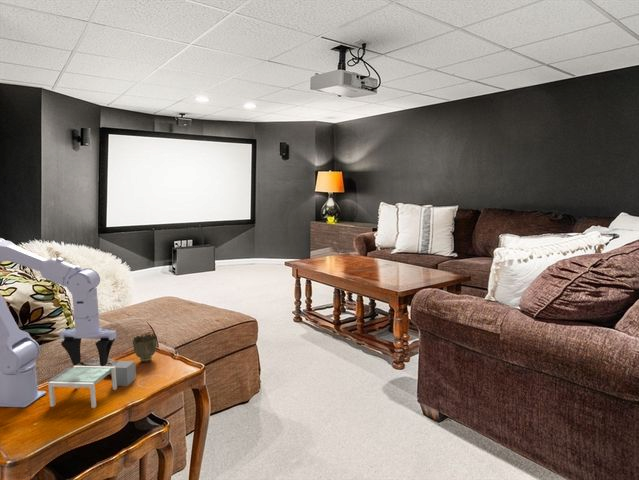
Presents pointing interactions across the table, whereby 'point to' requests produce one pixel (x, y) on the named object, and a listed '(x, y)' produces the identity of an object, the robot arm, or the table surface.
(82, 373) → the trapdoor plate
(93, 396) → the miniature coffee table
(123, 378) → the stone block
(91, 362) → the stone fragment
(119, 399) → the table surface
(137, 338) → the cup
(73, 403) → the table surface
